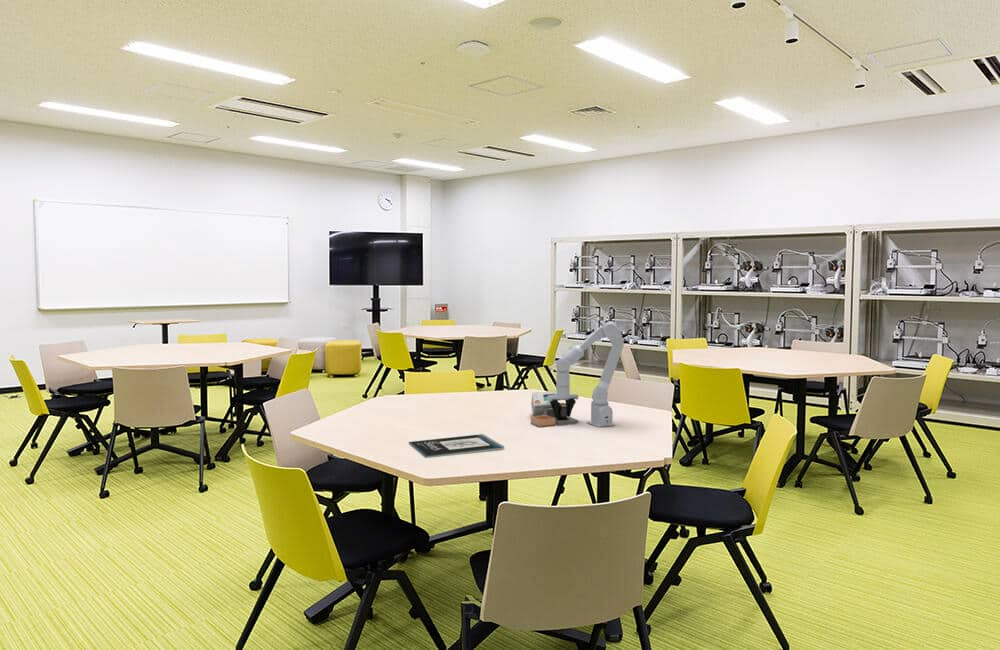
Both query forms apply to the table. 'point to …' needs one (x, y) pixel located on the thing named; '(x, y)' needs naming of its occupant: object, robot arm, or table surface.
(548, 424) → the tray
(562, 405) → the battery cell
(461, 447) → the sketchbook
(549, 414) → the grey rectangular holed block
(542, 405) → the light bulb box
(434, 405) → the table surface
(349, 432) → the table surface
